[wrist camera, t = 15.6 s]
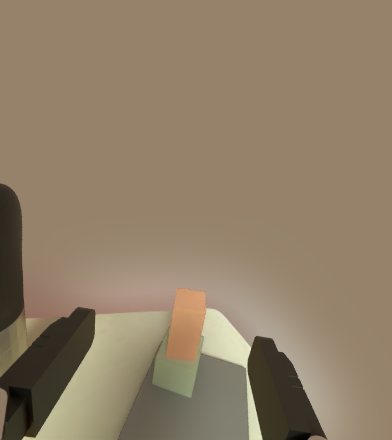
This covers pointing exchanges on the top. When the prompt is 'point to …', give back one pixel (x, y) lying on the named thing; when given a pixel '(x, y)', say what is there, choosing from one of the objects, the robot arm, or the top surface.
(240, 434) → the baseplate
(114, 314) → the top surface
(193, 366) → the bottom brick
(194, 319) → the top brick
